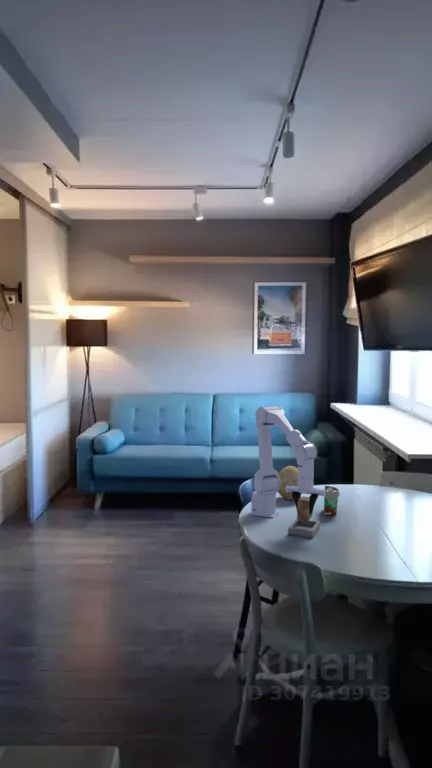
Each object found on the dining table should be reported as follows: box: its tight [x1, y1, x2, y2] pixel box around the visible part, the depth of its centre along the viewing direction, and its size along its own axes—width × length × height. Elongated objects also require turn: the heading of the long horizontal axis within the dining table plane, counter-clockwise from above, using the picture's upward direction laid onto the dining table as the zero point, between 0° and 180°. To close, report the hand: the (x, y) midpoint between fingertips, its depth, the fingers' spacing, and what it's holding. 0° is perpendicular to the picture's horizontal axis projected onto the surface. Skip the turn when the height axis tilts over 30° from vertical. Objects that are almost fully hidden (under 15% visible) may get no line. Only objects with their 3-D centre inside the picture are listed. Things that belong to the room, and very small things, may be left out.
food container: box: [323, 485, 341, 518], centre depth 233 cm, size 12×6×10 cm, turn 168°
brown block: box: [296, 495, 313, 521], centre depth 211 cm, size 4×7×7 cm, turn 158°
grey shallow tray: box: [287, 518, 321, 539], centre depth 211 cm, size 9×12×2 cm
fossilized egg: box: [277, 465, 303, 501], centre depth 253 cm, size 13×13×15 cm
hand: (304, 512), depth 211 cm, fingers closed on brown block, 4 cm apart
